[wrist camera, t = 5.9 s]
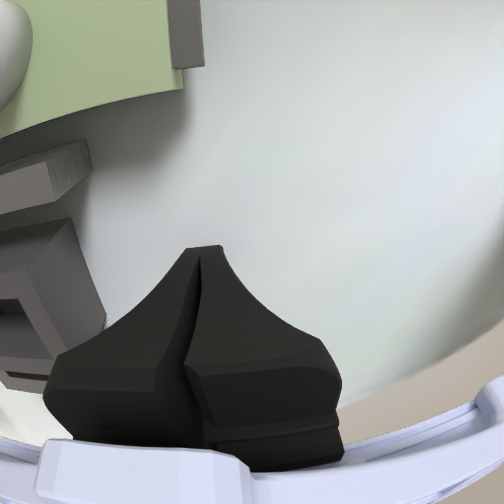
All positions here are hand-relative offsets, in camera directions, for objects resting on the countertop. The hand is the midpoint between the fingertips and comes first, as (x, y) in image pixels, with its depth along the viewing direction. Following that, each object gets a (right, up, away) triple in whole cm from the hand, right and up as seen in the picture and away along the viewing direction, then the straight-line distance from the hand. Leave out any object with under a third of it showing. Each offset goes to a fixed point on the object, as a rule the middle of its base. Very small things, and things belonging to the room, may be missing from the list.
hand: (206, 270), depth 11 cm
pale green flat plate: (-6, +8, -4) cm, 11 cm away
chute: (-8, 0, +1) cm, 8 cm away
